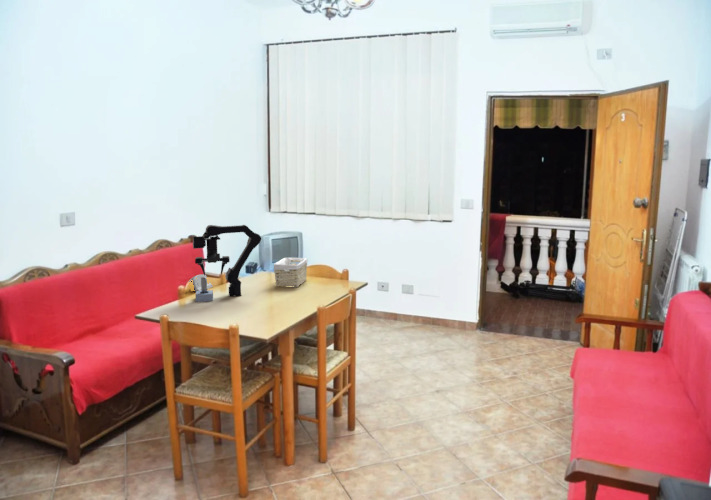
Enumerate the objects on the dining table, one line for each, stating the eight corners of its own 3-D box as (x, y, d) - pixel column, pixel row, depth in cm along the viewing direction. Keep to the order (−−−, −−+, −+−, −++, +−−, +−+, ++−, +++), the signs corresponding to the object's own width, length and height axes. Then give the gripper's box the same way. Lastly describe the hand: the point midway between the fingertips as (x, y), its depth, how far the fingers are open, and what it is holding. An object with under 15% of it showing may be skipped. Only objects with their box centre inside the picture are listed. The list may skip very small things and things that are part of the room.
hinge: (199, 292, 326) (193, 276, 325) (192, 295, 327) (186, 279, 326) (213, 286, 342) (207, 271, 341) (206, 288, 343) (200, 273, 342)
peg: (208, 299, 311) (207, 277, 309) (204, 300, 308) (203, 278, 306) (204, 298, 312) (203, 276, 310) (200, 299, 310) (199, 277, 308)
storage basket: (298, 288, 338) (297, 264, 335) (272, 287, 340) (272, 263, 338) (308, 280, 361) (308, 257, 358) (284, 279, 364) (284, 257, 361)
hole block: (213, 297, 316) (212, 290, 315) (212, 300, 307) (212, 293, 306) (196, 297, 314) (196, 291, 313) (195, 301, 305) (195, 294, 304)
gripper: (193, 250, 301) (195, 278, 304) (228, 249, 305) (229, 277, 308) (195, 247, 312) (196, 274, 315) (229, 246, 316) (229, 273, 318)
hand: (213, 274), depth 314 cm, fingers open, 9 cm apart
